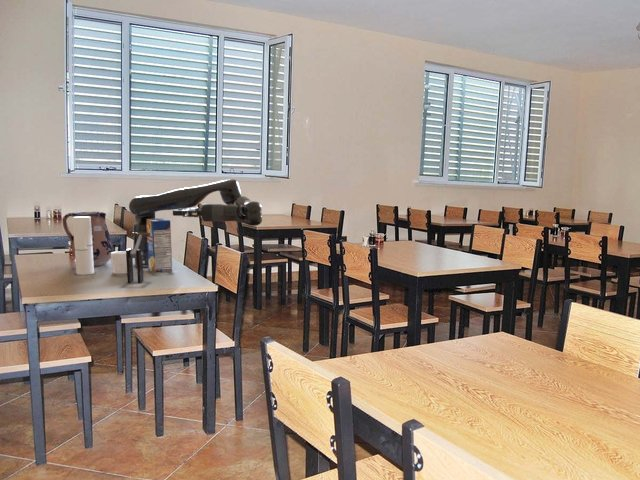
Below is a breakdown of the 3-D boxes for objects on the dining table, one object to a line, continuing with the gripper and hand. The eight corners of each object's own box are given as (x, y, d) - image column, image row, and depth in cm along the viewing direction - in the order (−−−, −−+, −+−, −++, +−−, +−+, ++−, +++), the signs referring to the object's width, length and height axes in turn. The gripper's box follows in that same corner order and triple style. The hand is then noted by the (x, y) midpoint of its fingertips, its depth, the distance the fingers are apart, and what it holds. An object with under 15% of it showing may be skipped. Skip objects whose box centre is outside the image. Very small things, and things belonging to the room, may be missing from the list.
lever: (133, 235, 273) (132, 231, 271) (150, 235, 273) (149, 231, 271) (125, 258, 262) (123, 253, 261) (142, 258, 263) (141, 253, 261)
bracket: (129, 282, 269) (127, 247, 267) (149, 282, 270) (147, 247, 268) (121, 287, 260) (119, 251, 257) (142, 287, 260) (140, 251, 258)
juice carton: (148, 271, 295) (146, 218, 291) (165, 270, 299) (163, 218, 295) (155, 275, 286) (152, 221, 281) (172, 274, 290) (170, 220, 286)
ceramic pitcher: (112, 267, 303) (109, 214, 299) (62, 269, 297) (58, 214, 292) (115, 261, 320) (112, 210, 315) (68, 263, 313) (64, 211, 309)
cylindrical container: (97, 272, 289) (94, 216, 285) (83, 275, 283) (79, 218, 279) (87, 271, 293) (83, 215, 289) (72, 273, 287) (68, 217, 282)
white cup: (134, 273, 289) (133, 251, 287) (125, 277, 281) (124, 254, 280) (117, 273, 290) (116, 251, 288) (108, 276, 282) (106, 253, 280)
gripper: (211, 223, 271) (171, 222, 270) (217, 219, 285) (180, 219, 284) (210, 205, 270) (170, 204, 269) (217, 202, 284) (179, 201, 283)
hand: (175, 212), depth 276 cm, fingers open, 8 cm apart
